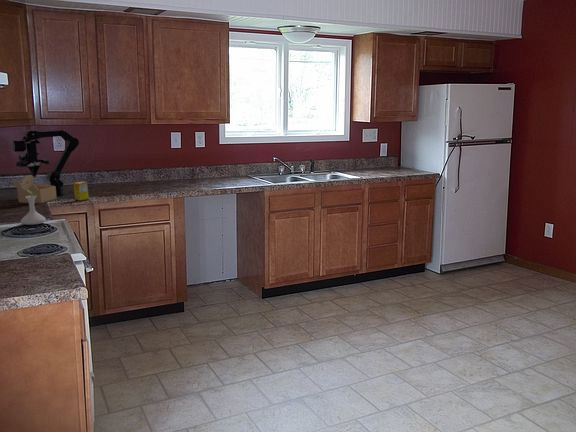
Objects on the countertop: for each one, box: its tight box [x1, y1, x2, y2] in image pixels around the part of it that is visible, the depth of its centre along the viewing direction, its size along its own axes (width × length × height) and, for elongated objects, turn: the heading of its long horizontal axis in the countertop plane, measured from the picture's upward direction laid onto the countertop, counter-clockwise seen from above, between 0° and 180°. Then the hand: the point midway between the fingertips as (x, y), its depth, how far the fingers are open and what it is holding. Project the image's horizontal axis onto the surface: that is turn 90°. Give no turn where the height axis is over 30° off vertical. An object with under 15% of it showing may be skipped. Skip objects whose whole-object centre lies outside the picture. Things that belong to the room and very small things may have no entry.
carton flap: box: [11, 179, 38, 190], centre depth 327 cm, size 7×14×1 cm
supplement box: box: [73, 181, 90, 202], centre depth 338 cm, size 6×6×11 cm
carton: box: [16, 184, 58, 205], centre depth 338 cm, size 15×16×8 cm
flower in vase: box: [20, 174, 46, 226], centre depth 276 cm, size 13×11×25 cm
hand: (34, 176), depth 344 cm, fingers closed
